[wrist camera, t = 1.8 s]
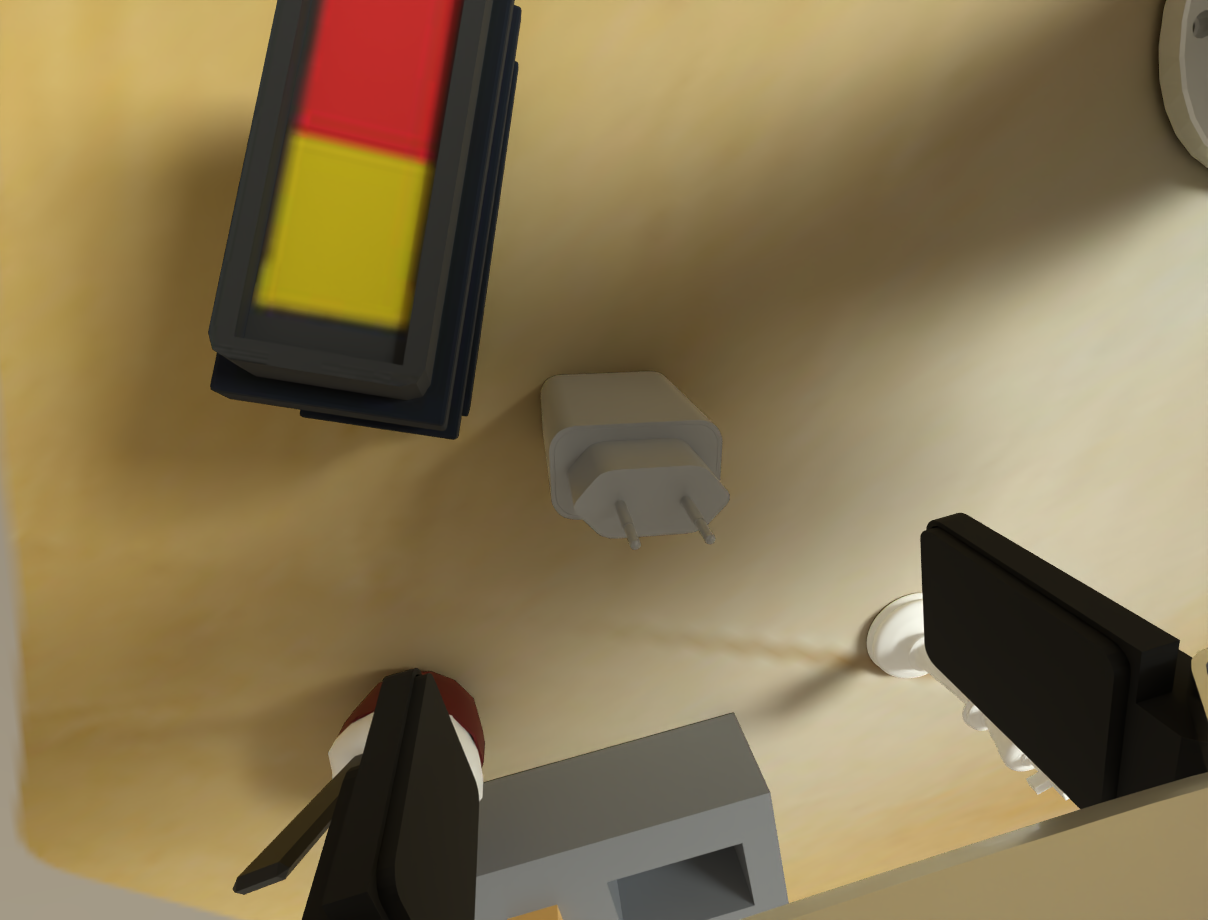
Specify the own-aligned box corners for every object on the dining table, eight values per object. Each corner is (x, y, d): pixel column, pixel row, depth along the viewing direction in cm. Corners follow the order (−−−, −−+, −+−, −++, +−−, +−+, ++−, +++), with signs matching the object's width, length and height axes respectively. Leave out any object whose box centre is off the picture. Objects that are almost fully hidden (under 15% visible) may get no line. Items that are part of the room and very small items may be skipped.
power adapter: (668, 440, 27) (776, 590, 16) (543, 447, 26) (562, 608, 15) (670, 370, 26) (787, 476, 14) (539, 375, 25) (558, 491, 14)
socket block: (733, 712, 33) (777, 807, 27) (757, 840, 36) (799, 946, 31) (457, 790, 32) (445, 903, 26) (510, 912, 36) (509, 1033, 30)
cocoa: (492, 764, 32) (478, 1060, 20) (364, 777, 31) (275, 1093, 20) (480, 604, 28) (456, 852, 17) (336, 614, 28) (210, 881, 16)
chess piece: (967, 638, 33) (1143, 797, 24) (887, 686, 33) (1030, 860, 24) (935, 575, 31) (1112, 720, 22) (851, 626, 32) (990, 790, 22)
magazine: (361, 462, 24) (172, 373, 9) (417, 143, 25) (334, -385, 10) (461, 476, 24) (440, 415, 10) (509, 165, 26) (554, -300, 11)
